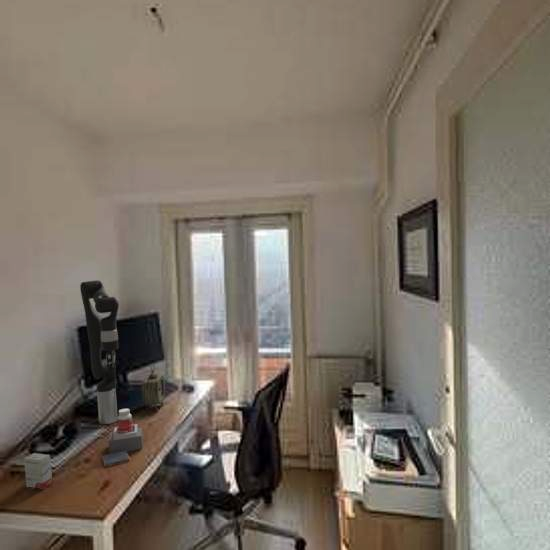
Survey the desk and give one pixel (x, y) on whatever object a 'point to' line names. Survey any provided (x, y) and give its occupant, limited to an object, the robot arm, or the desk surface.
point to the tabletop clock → (153, 389)
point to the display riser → (126, 440)
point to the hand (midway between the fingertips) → (112, 373)
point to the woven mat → (115, 458)
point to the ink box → (38, 470)
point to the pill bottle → (124, 421)
